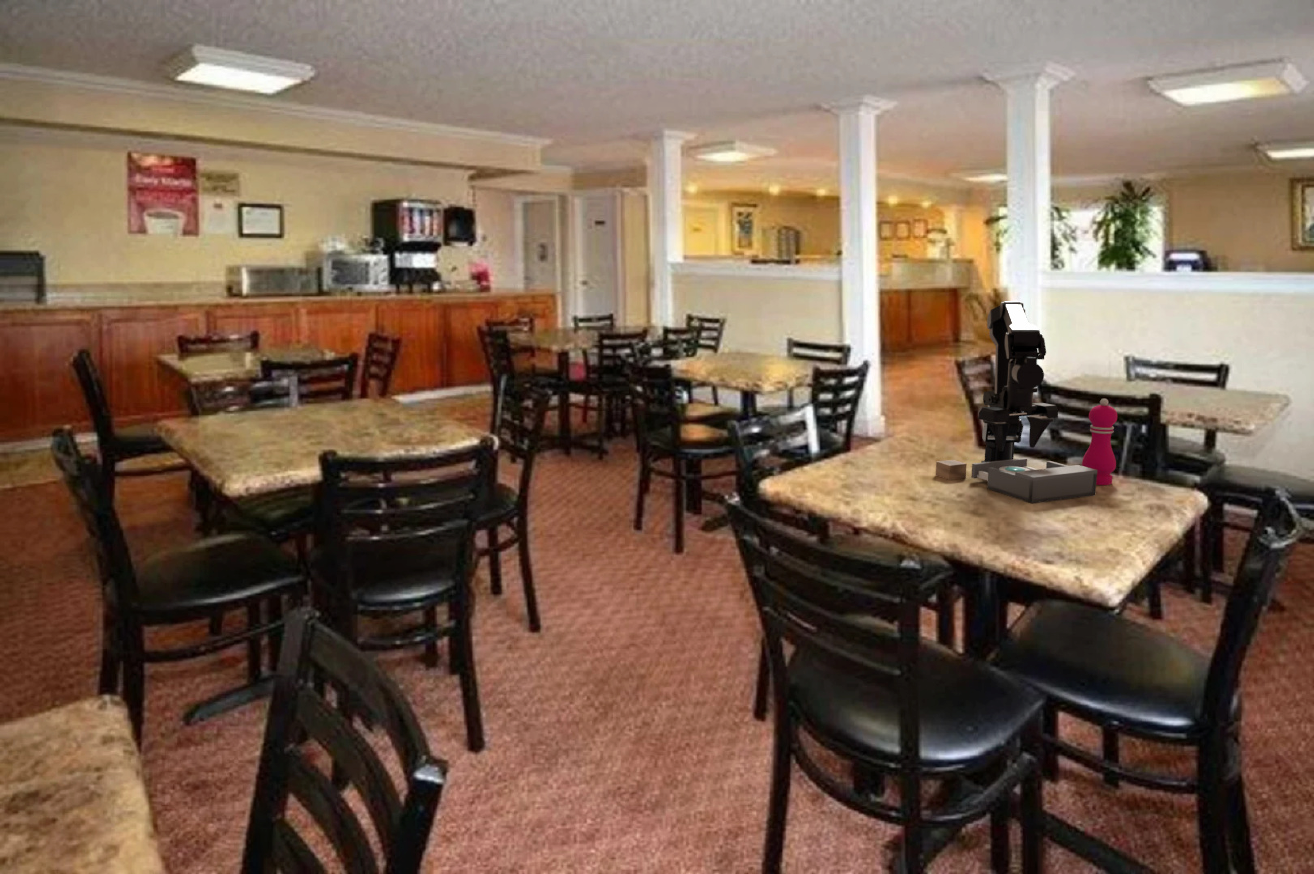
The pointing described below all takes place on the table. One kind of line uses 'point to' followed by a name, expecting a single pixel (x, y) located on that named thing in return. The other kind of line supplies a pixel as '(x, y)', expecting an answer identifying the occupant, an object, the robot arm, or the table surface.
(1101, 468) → the pepper mill
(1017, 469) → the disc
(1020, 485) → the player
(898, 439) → the table surface
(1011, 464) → the tray
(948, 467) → the block
